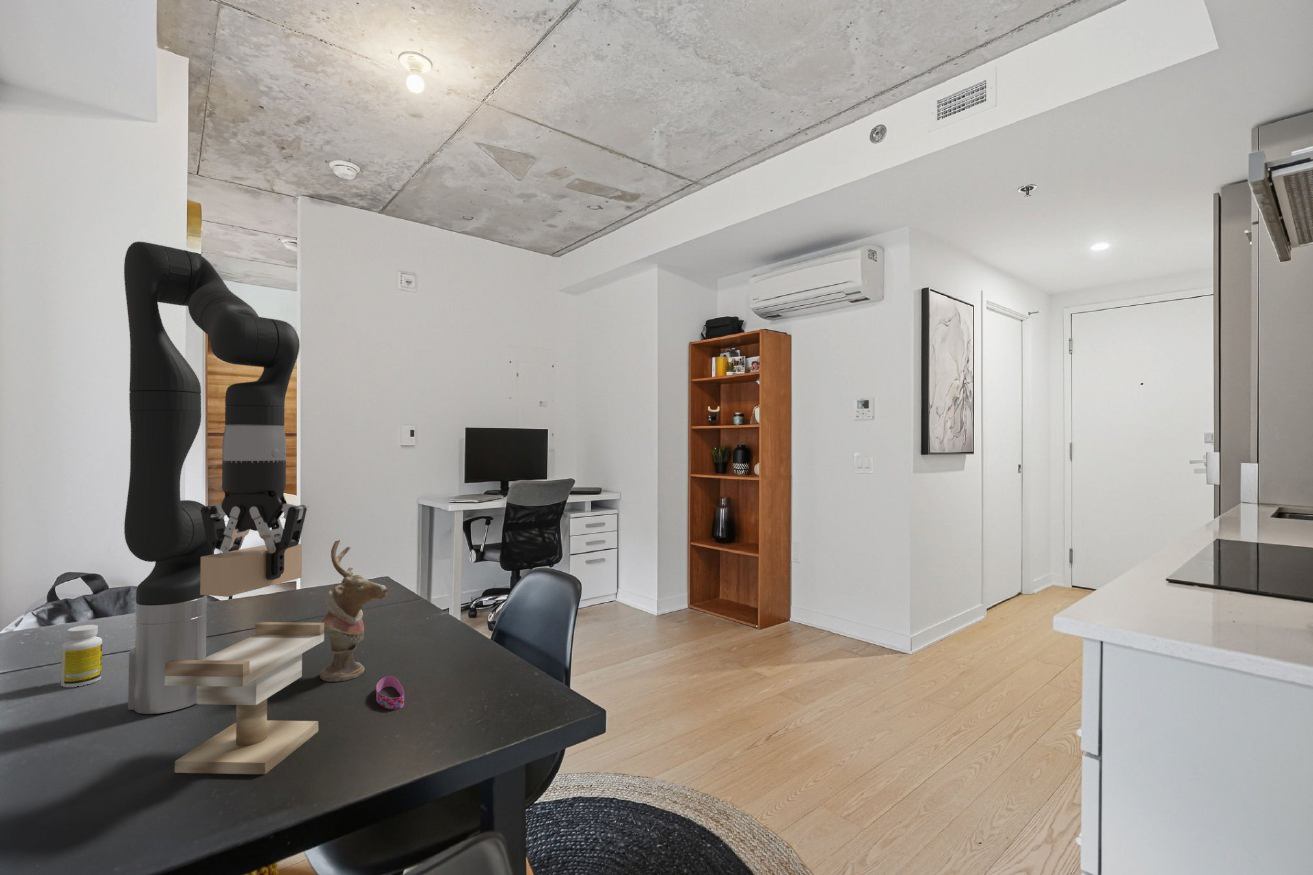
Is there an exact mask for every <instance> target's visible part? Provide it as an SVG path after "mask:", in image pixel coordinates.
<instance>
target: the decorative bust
mask: <svg viewBox="0 0 1313 875" xmlns="http://www.w3.org/2000/svg"><path fill="white" fill-rule="evenodd" d="M340 542H341V540H340V539H339V540H335V541H334V542H333V545H332V546H331V550H330V557H331V558H330V559H331V563H332V565H333V567H334V569H335V570H336V572H337V573H338V575H339V574H340V575H341V576H342V577H343V579H342V580H341V583H340V584H338V585H336V586H334V587H333V588H331V589H329V591H328V592H327V595H326V598H325V599H324V605H325V606H326V609H327V613H326V614H325V617H324V618H323V620H322V621H321V622H320V623H324V634H325V635H327V636H328V637H329V640H330V650H329V651H330V653H331V654H334V656H333V660H332V662H331V663H330V664H329V665H327V666H325V667H324V668H322V669H321V671H319V678H320V679H321V680H322V681H324V682H344V681H350V680H353V679H356V678H358V677H360V676H361V675H363V674H364V673H365V669H366V668H365V666H363V664H362V663H360V662H358V661H357V662H356V661H355V659H354V658H355V657H354V651H356V649H357V644H359V643H360V642H362V641H363V640H364V638H365V625H364V620H363V616H364V612H363V610H362V608H363V607H364V605H366V604H367V603H370V602H372V601H375V600H384V599H385V598H386V596H387V595H388V591H389V589H388V588H387V586H386V585H383V584H379V583H377V582H373V581H370V580H369V579H368V578H366V577H365V578H364V577H363V576H361V575H360V574H357V575H356V574H355V575H354V573H353V572H352V571H353V569H354V568H353V567H349V568H347V570H346V569H345V568H344V567H342V566H341V562H342V560H343V558H344V557H345V555H346V554H347V553H348V552H349V551H350V549H351V547H350V546H346V547H345V548H344V549H343V550H342V551H341V552H340V553H339V554H338V555H337V550H338V547H339V544H340Z"/></svg>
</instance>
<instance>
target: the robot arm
mask: <svg viewBox="0 0 1313 875" xmlns="http://www.w3.org/2000/svg"><path fill="white" fill-rule="evenodd" d="M123 269H124V270H123V277H124V278H123V279H124V289H125V290H124V291H125V299H126V309H127V317H128V330H129V344H130V345H129V350H130V351H129V352H130V354H129V356H130V357H129V362H130V363H129V387H128V388H129V391H128V392H129V396H128V397H129V398H128V399H129V423H130V445H129V446H130V449H129V450H130V454H129V456H130V459H129V460H130V463H129V464H130V466H129V467H130V468H129V481H128V491H127V499H126V507H125V515H124V528H123V529H124V532H123V534H124V540H125V543H126V546H127V548H128V550H129V552H131V554H133V555H134V556H135V557H136V558H138V559H139V560H141V561H144V562H147V563H154V562H155V564H154V566H153V568H152V570H151V571H150V573H149V575H148V576H147V577H145V578H144V580H142V581H141V582H140V583H139V584H138V585H137V587H136V590H135V591H136V593H135V638H134V639H135V647H133V648H131V649H130V650H129V651H128V678H127V679H128V685H127V686H128V688H127V689H128V690H127V692H128V693H127V694H128V696H127V697H128V698H127V709H128V710H131V711H132V710H133V711H134V712H135V713H138V714H141V715H142V714H143V715H154V714H163V713H168V712H174V711H177V710H178V711H179V710H182V709H184V708H185V709H186V708H189V707H190V706H193V705H196V704H197V686H165V663H166V662H169V661H171V660H201V659H203V658H205V657H207V604H208V603H207V602H208V600H207V597H208V595H200V577H201V557H202V556H208V555H213V554H215V549H216V550H219V551H221V552H220V553H224V552H229V551H235V550H240V549H241V548H242V545H243V544H244V543H243V542H244V540H245V537H247V535H249V532H250V531H253V532H254V531H255V532H258V535H259V538H261V539H262V540H263V542H264V545H266V548H267V551H268V552H269V553H268V554H266V579H267V580H274V579H277V578H280V576H281V574H283V572H284V553H285V550H286V549H288V548H291V547H293V546H297V545H298V544H300V540H301V535H302V532H303V529H304V524H305V520H306V519H305V518H306V515H307V514H306V513H307V510H308V509H307V506H306V505H304V504H299V505H294V504H289V503H288V502H287V500H286V498H285V494H284V492H285V490H286V488H287V485H286V484H287V483H286V482H287V469H286V468H287V438H286V431H285V412H286V411H285V400H286V395H287V391H288V387H289V384H290V380H291V376H292V373H293V371H294V367H295V365H296V362H297V359H298V357H299V352H300V338H299V335H298V333H297V331H296V329H295V328H294V327H293V326H292V324H290V323H289V322H287V321H285V320H280V319H277V318H276V319H274V318H268V317H264V316H263V317H262V316H259V315H258V314H259V313H257V312H256V310H255V309H254V308H253V307H252V306H251V305H250V304H248V303H247V302H246V301H245V300H243V299H242V298H240V297H239V296H237V295H236V294H235V293H233V292H232V291H231V290H230V289H229V287H228V286H227V284H226V283H225V282H224V280H223V279H222V277H221V276H220V275H219V273H218V272H217V270H216V269H215V268H214V266H213V265H212V264H211V262H209V260H207V259H206V257H204V256H202V255H201V254H198V253H196V252H193V251H190V250H185V249H181V248H175V247H171V246H166V245H162V244H156V243H151V242H146V241H135V242H132V243H131V244H130V245H129V246H128V248H127V250H126V253H125V257H124V264H123ZM159 303H160V304H161V303H163V304H169V305H175V306H184V307H187V308H188V314H189V316H190V318H191V320H192V321H193V322H194V323H195V325H196V326H197V327H198V328H199V329H200V330H201V331H203V332H204V333H205V334H207V337H208V339H209V343H210V349H211V352H212V354H213V355H214V356H215V357H216V358H217V359H219V360H221V361H223V362H225V363H227V364H232V365H239V366H247V367H259V368H263V371H262V373H261V374H260V377H259V378H258V379H257V380H254V381H246V382H236V383H233V384H231V385H229V386H228V387H227V388H226V391H225V396H224V397H225V398H224V401H225V402H224V403H225V404H224V405H225V406H224V408H225V410H224V432H223V438H222V455H221V456H222V458H221V459H222V460H221V461H222V462H221V463H222V464H221V465H222V466H221V467H222V468H221V489H222V492H224V498H223V500H222V501H221V503H219V504H211V505H205V504H203V503H202V502H199V501H196V500H191V499H190V500H189V499H187V500H186V499H184V500H183V499H181V475H182V471H183V470H182V469H183V466H184V462H185V460H186V458H187V456H188V454H189V452H190V450H191V448H192V446H193V444H194V442H195V440H196V437H197V435H198V432H199V429H200V427H201V422H202V386H201V382H200V380H199V378H198V375H197V373H196V372H195V371H194V370H193V368H192V367H191V365H190V364H189V362H188V361H187V359H186V358H185V357H184V356H183V355H182V353H181V352H180V351H179V349H178V348H177V347H176V345H175V344H174V343H173V341H172V340H171V338H170V336H169V335H168V333H167V331H166V329H165V326H164V325H163V320H162V317H161V314H160V309H159ZM283 514H284V515H283ZM282 515H283V516H282ZM225 516H227V518H228V521H227V523H226V521H225ZM281 516H282V517H283V518H284V519H285V522H284V526H283V525H282V522H281V520H280V517H281Z"/></svg>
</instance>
